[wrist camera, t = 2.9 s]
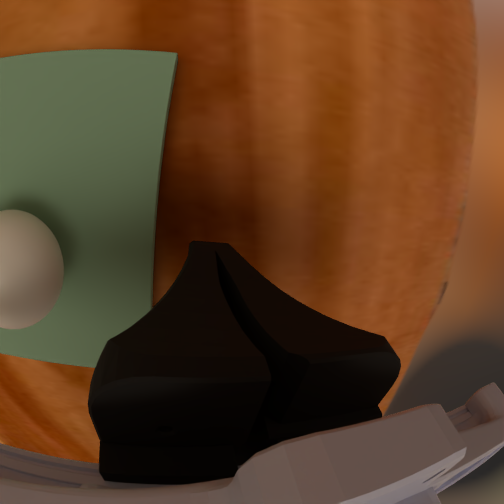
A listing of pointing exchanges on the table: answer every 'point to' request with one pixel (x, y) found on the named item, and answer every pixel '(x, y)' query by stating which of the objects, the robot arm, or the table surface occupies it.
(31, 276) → the ball
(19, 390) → the table surface
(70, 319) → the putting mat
